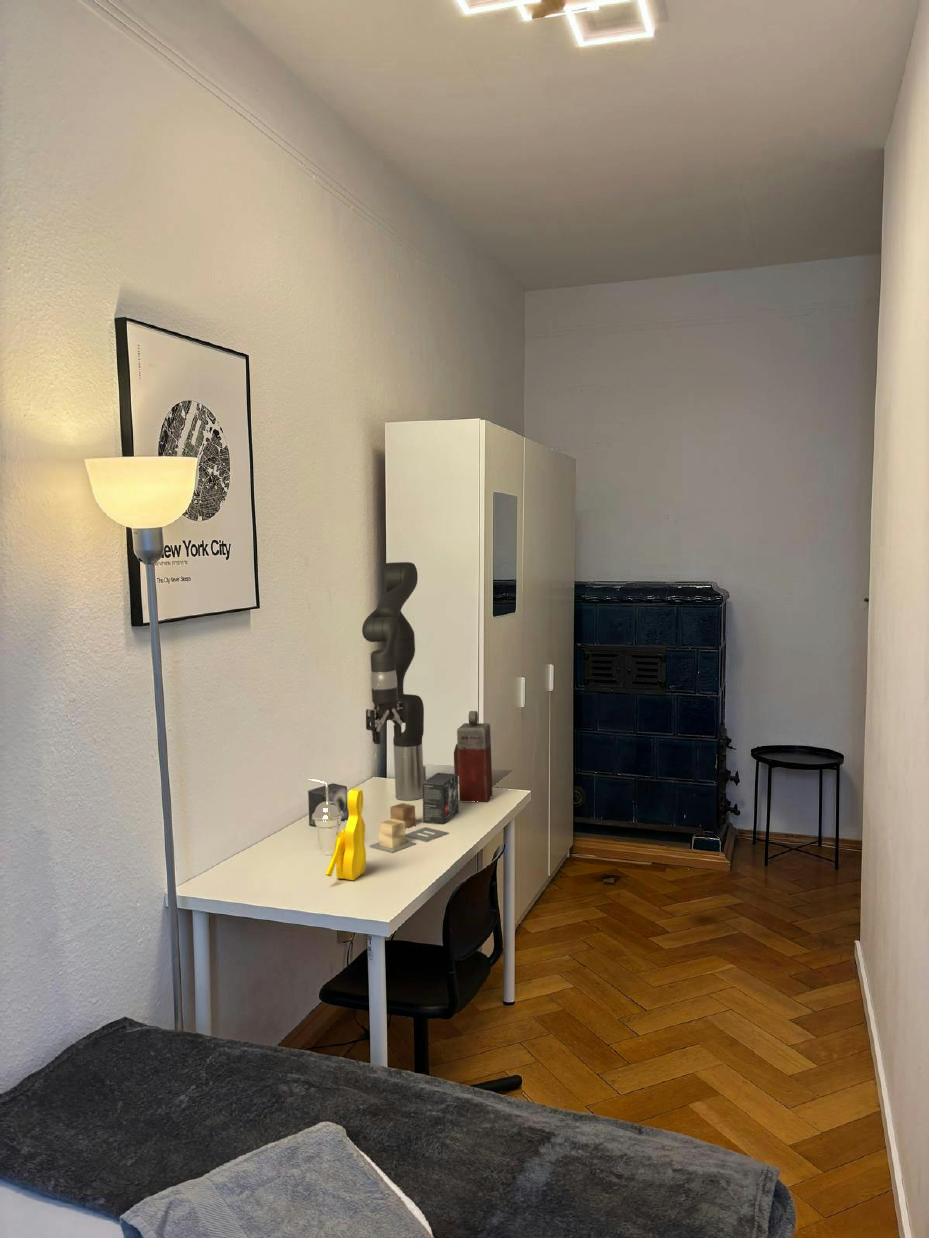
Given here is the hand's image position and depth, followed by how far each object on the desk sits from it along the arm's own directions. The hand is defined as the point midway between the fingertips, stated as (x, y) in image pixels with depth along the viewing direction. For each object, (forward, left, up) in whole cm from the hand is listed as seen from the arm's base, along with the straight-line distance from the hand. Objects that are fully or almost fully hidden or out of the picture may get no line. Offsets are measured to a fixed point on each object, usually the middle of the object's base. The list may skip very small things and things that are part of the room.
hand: (387, 740), depth 279 cm
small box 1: (+11, -15, -24) cm, 31 cm away
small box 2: (-12, +9, -24) cm, 29 cm away
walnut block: (+1, +6, -24) cm, 25 cm away
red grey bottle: (-33, +3, -24) cm, 41 cm away
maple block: (+15, +16, -24) cm, 32 cm away
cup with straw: (+29, +6, -24) cm, 38 cm away
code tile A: (+3, +17, -24) cm, 30 cm away
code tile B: (+15, +16, -24) cm, 33 cm away
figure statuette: (+38, +25, -24) cm, 52 cm away
